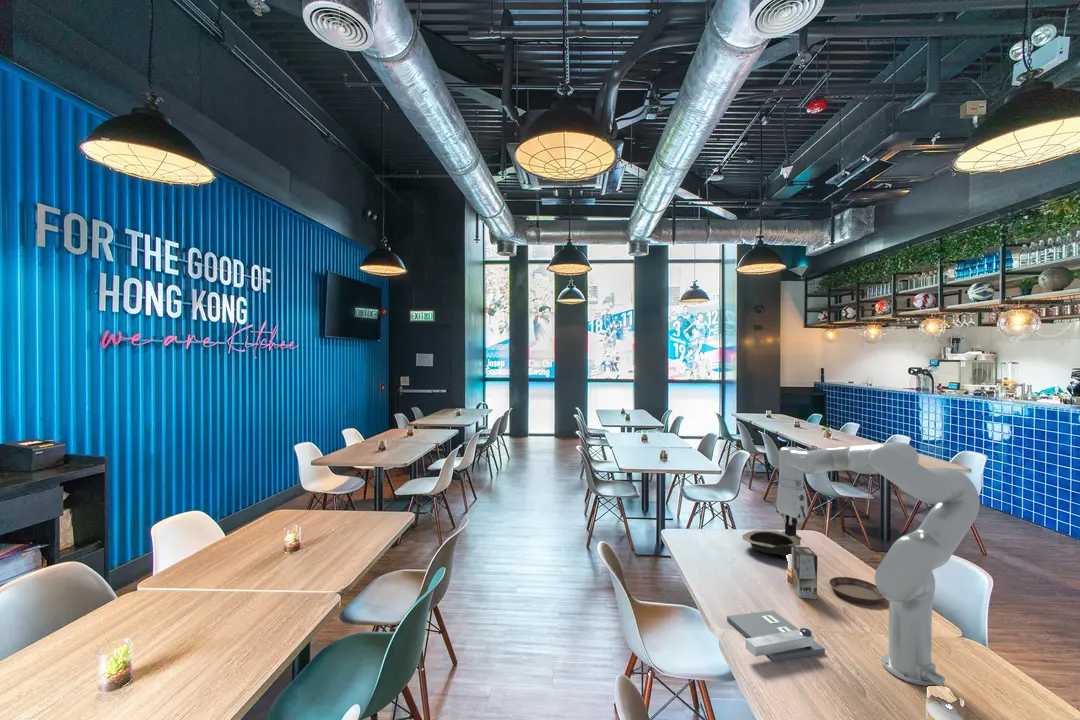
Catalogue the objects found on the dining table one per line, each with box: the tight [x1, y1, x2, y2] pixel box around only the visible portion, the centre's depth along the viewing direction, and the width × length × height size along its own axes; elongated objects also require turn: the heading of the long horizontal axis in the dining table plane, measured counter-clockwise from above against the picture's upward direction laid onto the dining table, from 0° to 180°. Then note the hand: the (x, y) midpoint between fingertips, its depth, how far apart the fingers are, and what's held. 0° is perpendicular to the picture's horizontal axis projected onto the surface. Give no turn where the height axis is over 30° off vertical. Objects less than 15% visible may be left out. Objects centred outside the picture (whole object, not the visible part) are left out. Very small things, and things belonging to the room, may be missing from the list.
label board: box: [726, 609, 826, 662], centre depth 149 cm, size 22×18×2 cm
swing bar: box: [745, 627, 815, 658], centre depth 138 cm, size 22×4×4 cm, turn 106°
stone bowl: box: [741, 529, 802, 561], centre depth 216 cm, size 25×25×9 cm
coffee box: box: [791, 546, 819, 600], centre depth 178 cm, size 9×6×16 cm
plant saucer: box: [828, 576, 885, 605], centre depth 177 cm, size 18×18×3 cm
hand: (790, 535), depth 163 cm, fingers closed
